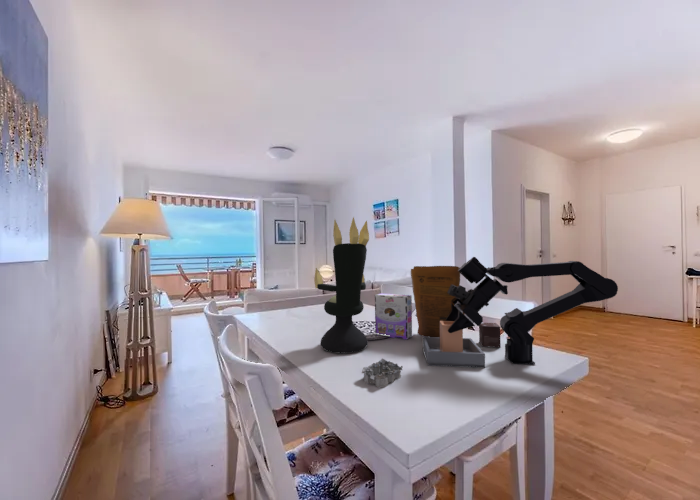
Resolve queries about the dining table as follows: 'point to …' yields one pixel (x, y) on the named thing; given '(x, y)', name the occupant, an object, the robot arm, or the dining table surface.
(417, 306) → the pancake mix bag
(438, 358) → the grey square tray
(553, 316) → the robot arm
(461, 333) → the orange square container
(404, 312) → the candy box
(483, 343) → the box
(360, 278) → the candelabra
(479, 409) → the dining table surface
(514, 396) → the dining table surface
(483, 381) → the dining table surface
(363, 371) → the grey jagged ring
